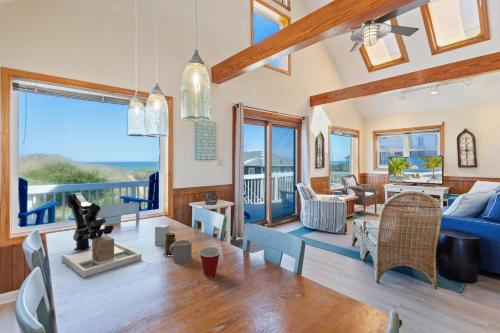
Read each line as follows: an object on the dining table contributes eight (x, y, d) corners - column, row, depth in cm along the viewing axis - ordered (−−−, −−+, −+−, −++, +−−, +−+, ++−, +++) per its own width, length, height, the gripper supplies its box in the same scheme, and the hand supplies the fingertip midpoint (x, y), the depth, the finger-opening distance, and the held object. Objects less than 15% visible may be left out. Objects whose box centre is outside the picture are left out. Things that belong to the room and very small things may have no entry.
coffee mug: (195, 258, 145) (195, 241, 145) (182, 264, 136) (182, 246, 136) (178, 254, 152) (178, 237, 152) (165, 259, 143) (165, 242, 143)
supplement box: (164, 246, 166) (164, 227, 166) (154, 245, 168) (154, 226, 167) (170, 242, 173) (170, 224, 173) (160, 242, 175) (160, 224, 175)
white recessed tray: (61, 260, 142) (61, 254, 142) (114, 246, 165) (114, 241, 165) (84, 277, 121) (83, 270, 121) (141, 259, 144) (141, 253, 143)
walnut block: (92, 258, 141) (92, 238, 141) (107, 254, 148) (107, 235, 147) (98, 262, 136) (98, 242, 135) (114, 257, 142) (114, 238, 142)
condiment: (175, 251, 158) (175, 232, 157) (177, 255, 150) (177, 235, 150) (163, 252, 155) (163, 233, 154) (165, 257, 147) (165, 237, 147)
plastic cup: (202, 281, 118) (202, 256, 117) (196, 272, 127) (196, 248, 127) (224, 276, 123) (224, 252, 122) (216, 268, 132) (216, 245, 132)
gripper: (77, 216, 140) (84, 240, 134) (112, 211, 155) (120, 232, 148) (72, 228, 145) (79, 251, 139) (106, 222, 160) (114, 243, 153)
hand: (99, 244), depth 145 cm, fingers closed
